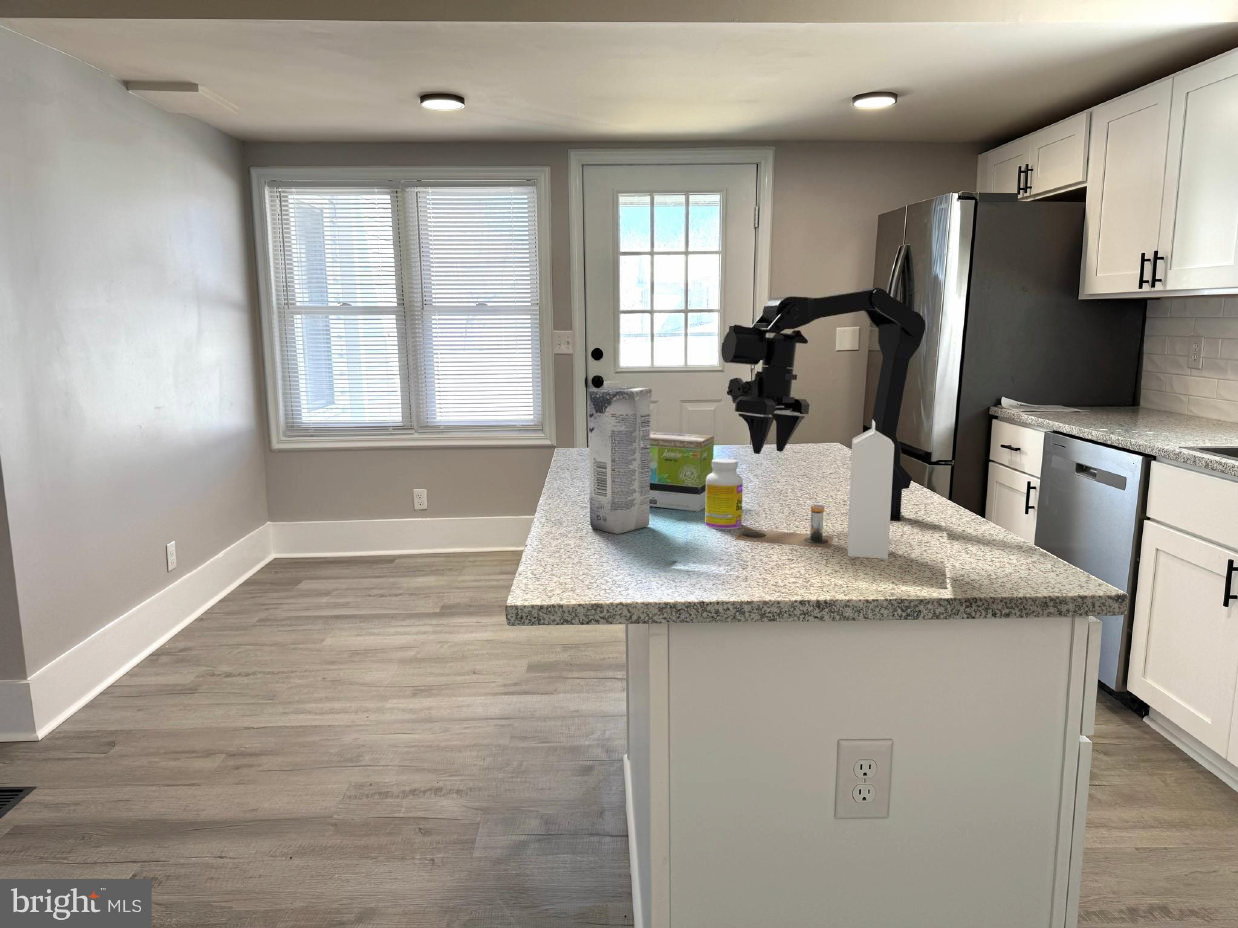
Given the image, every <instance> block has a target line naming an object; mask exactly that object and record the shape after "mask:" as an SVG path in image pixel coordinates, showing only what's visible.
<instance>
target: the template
mask: <svg viewBox="0 0 1238 928" xmlns="http://www.w3.org/2000/svg"><path fill="white" fill-rule="evenodd" d="M834 538H835V536H834V535H823V536H822V541H821V542H814V541H810V533H799V532H787V531H776V530H775V531H774V530H764V529H754V528H753V529H752V528H744V529H742V531H741V532H740V533H739V534H738V535H737V536H736V537H735V538H734V540H737V541H748V542H758V543H767V544H769V543H770V544H780V545H790V546H791V545H793V546H799V547H801V546H803V547H811V548H812V547H813V548H823V549H829V548H830V546H831V544H832V543H833V539H834Z"/></svg>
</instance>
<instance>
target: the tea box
mask: <svg viewBox="0 0 1238 928" xmlns="http://www.w3.org/2000/svg"><path fill="white" fill-rule="evenodd" d="M714 440H715V436H714V435H708V434H707V435H705V434H704V435H703V434H694V433H693V434H692V433H681V432H680V433H676V432H661V431H650V503H649V507H654V508H655V507H657V508H665V509H672V510H681V511H689V512H694V511H696V513H699V512H700V511H701V509H702V510H703V509H704V508H705V505H706V478H707V476H708V475H709V474H711V473H712V472H713V469H712V460H713V459H714V452H715V451H714V447H715V446H714V443H715V441H714Z"/></svg>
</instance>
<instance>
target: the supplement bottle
mask: <svg viewBox="0 0 1238 928" xmlns="http://www.w3.org/2000/svg"><path fill="white" fill-rule="evenodd" d="M738 467H739V461H738V460H737V459H734V458H713V460H712V469H713V472H712V473H711V474H709V475H708V476H707V478H706V505H705V509H704V511H705V513H704V521H705V522H704V527H707V528H710V529H718V530H733V529H734V530H735V529H738V528H741V527H742V526H743V525H742V524H743V523H742V522H743V521H742V520H743V489H744V488H743V487H744V486H743V485H744V483H743V481H744V480H743V477H742V476H741V475H740V474H738V473H737V469H738Z"/></svg>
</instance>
